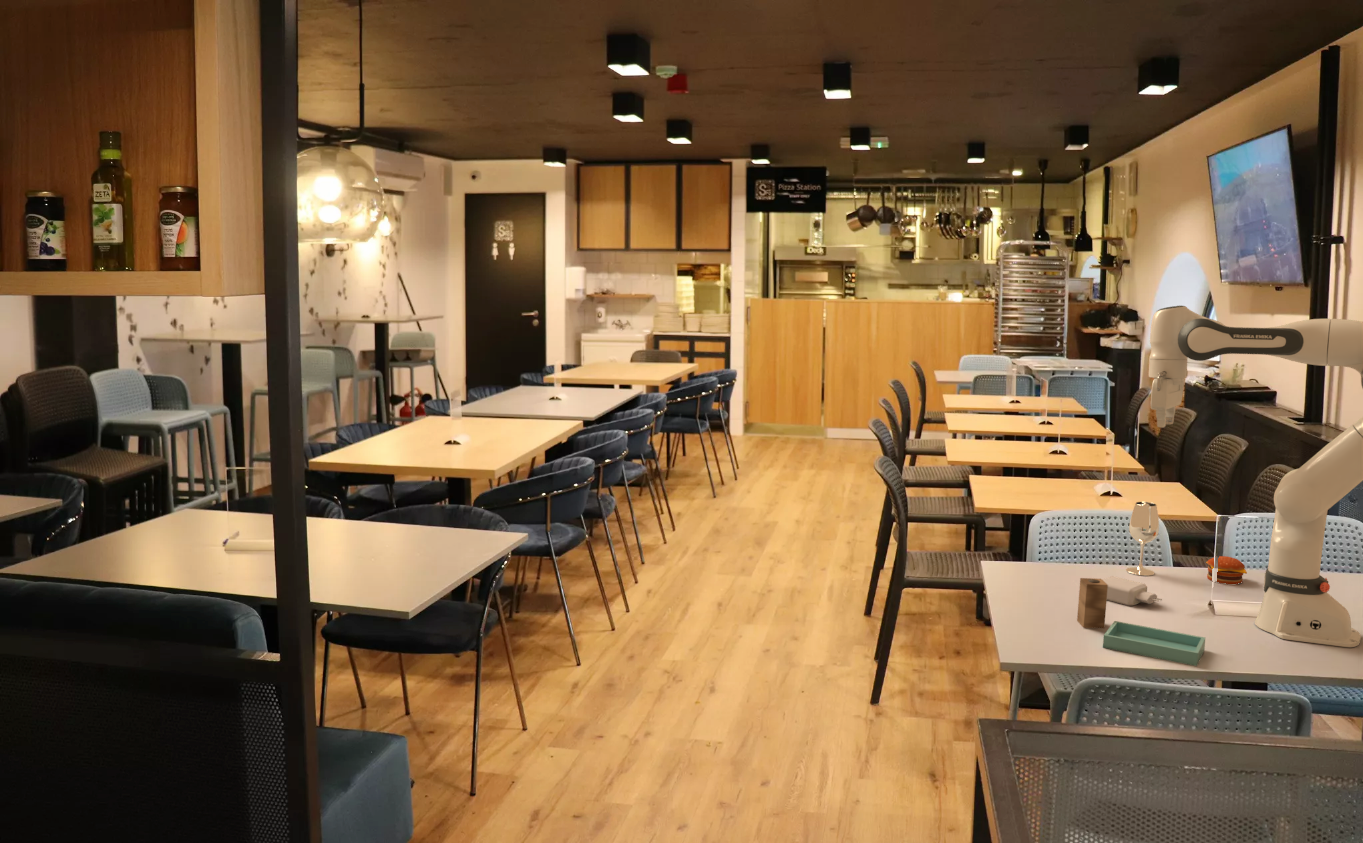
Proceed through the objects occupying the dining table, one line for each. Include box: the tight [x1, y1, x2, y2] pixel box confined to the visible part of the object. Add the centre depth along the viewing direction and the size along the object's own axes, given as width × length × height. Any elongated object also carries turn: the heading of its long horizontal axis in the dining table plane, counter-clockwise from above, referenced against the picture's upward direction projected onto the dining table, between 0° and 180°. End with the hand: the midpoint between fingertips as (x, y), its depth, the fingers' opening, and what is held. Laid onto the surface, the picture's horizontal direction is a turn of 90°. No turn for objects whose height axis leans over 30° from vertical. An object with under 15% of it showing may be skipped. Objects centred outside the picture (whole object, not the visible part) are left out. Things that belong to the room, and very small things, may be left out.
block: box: [1076, 577, 1108, 629], centre depth 274 cm, size 5×5×11 cm
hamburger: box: [1205, 555, 1248, 585], centre depth 313 cm, size 9×10×7 cm
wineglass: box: [1125, 501, 1160, 577], centre depth 318 cm, size 8×8×20 cm
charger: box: [1101, 575, 1163, 607], centre depth 293 cm, size 5×9×15 cm
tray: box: [1102, 620, 1206, 667], centre depth 259 cm, size 20×12×3 cm, turn 58°
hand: (1165, 425), depth 282 cm, fingers open, 8 cm apart
